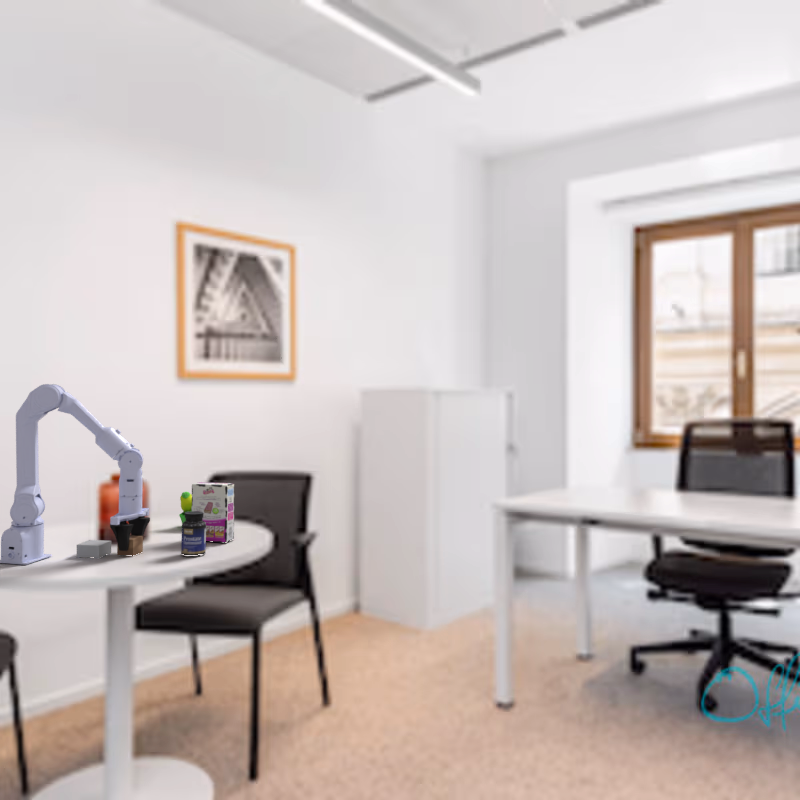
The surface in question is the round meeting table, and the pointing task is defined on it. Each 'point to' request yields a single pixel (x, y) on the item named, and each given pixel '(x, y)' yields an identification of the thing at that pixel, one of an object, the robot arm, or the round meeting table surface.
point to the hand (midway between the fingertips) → (130, 547)
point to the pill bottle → (193, 534)
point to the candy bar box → (215, 509)
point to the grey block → (93, 548)
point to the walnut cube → (133, 546)
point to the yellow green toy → (185, 504)
